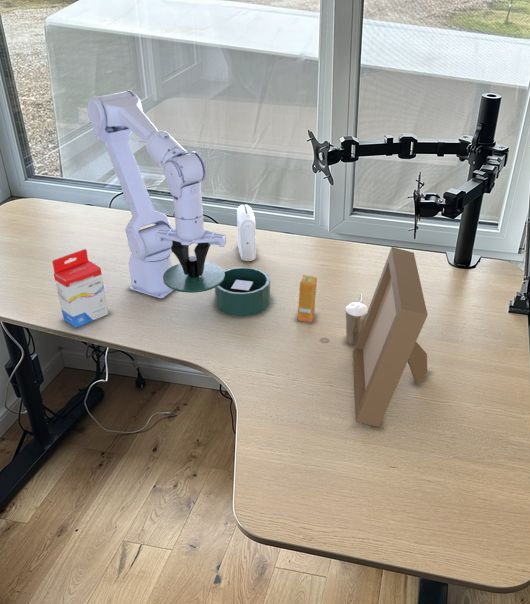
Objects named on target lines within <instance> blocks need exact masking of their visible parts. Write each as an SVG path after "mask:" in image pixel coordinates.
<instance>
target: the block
mask: <svg viewBox="0 0 530 604" xmlns="http://www.w3.org/2000/svg"><path fill="white" fill-rule="evenodd" d="M252 291H254V282H251V281H243V280H236V281H235V282H234V284H233V286H232V287H231V292H240V293H244V292H252Z"/></svg>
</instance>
